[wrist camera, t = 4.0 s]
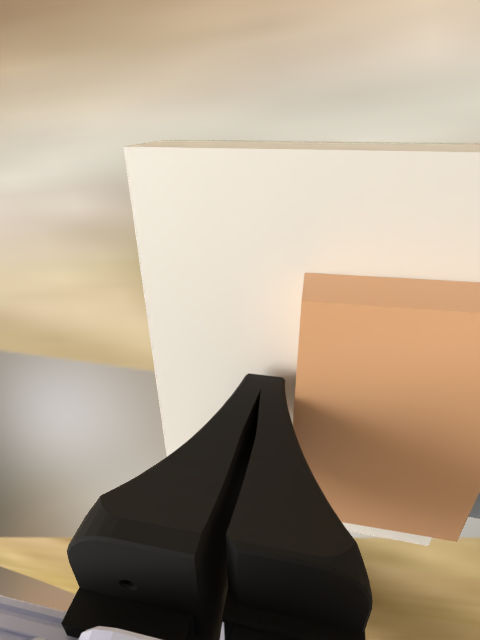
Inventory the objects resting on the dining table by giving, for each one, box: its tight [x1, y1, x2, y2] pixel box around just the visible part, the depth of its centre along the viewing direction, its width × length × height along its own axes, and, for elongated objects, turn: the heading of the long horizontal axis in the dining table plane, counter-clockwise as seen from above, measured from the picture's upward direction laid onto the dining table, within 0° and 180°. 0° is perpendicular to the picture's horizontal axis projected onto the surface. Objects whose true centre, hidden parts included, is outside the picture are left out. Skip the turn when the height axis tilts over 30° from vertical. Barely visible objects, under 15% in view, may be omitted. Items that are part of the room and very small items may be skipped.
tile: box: [293, 273, 480, 542], centre depth 12 cm, size 9×6×2 cm, turn 1°
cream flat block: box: [124, 140, 480, 546], centre depth 15 cm, size 16×12×3 cm
